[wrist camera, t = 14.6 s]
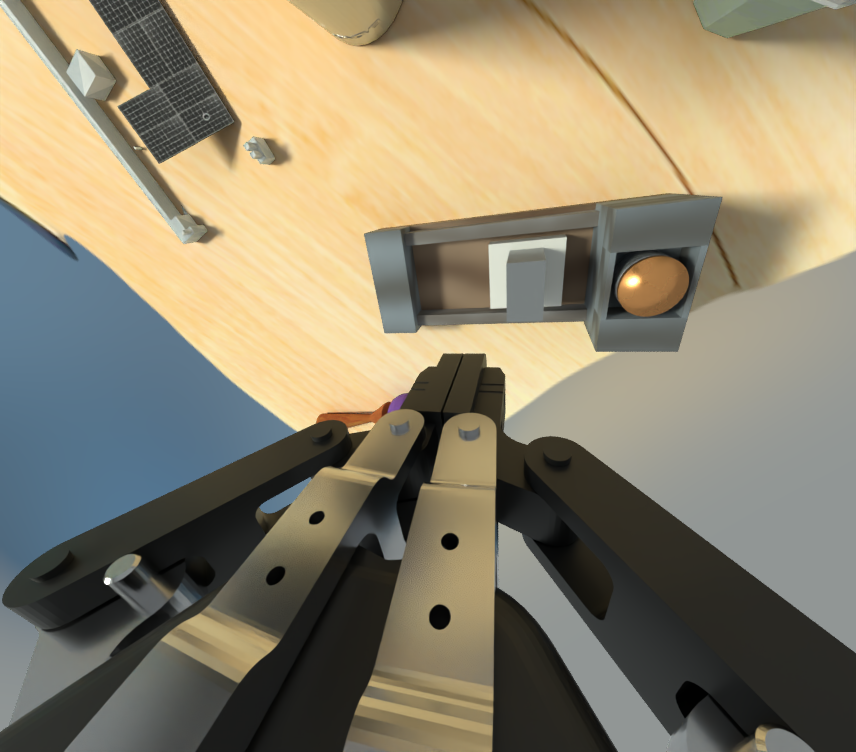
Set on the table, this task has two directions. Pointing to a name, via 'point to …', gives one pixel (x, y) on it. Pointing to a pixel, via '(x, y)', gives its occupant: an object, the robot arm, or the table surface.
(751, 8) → the disposable coffee cup
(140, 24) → the paper cutter
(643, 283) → the button
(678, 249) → the grey stepped base
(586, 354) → the table surface
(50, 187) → the table surface
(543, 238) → the carriage
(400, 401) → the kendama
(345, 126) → the table surface
